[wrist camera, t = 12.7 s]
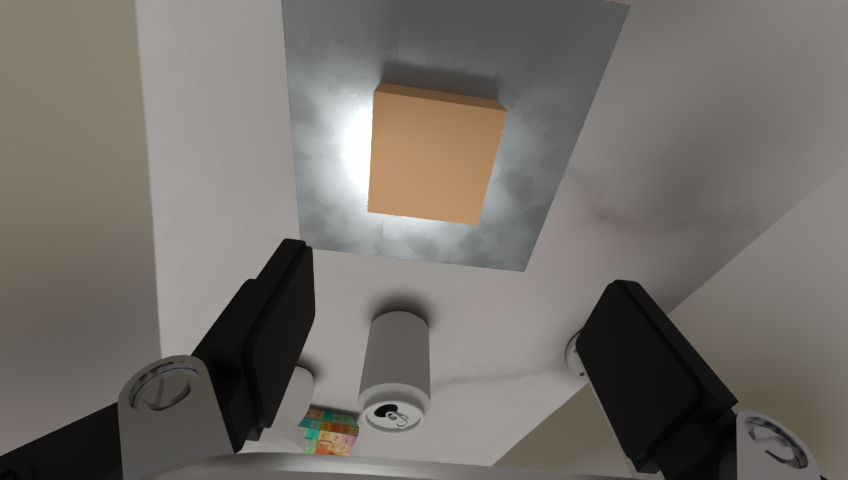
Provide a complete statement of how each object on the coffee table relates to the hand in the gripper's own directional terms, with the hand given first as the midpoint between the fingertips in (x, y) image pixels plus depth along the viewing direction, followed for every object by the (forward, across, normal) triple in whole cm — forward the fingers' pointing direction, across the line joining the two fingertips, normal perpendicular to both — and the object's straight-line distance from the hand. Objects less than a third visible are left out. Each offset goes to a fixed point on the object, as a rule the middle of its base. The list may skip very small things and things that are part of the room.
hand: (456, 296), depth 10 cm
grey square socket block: (+21, +1, -1) cm, 21 cm away
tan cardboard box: (+19, +1, -1) cm, 19 cm away
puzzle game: (+22, +13, +55) cm, 61 cm away
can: (+22, +1, +25) cm, 33 cm away
